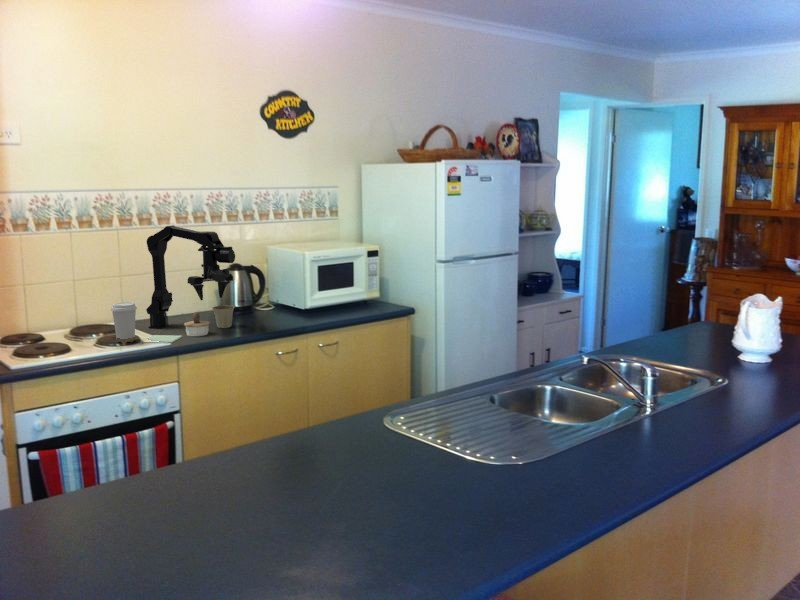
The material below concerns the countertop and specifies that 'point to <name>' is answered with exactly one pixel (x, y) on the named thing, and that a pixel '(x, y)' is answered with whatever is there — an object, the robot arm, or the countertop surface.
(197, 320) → the lid
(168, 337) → the mat
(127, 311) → the coffee cup
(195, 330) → the bowl
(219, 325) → the flower pot
